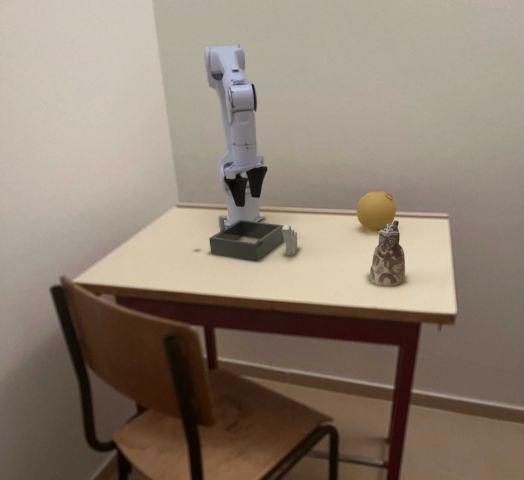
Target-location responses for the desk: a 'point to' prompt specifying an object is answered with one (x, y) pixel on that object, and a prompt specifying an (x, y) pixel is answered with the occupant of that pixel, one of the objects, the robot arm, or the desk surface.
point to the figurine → (388, 257)
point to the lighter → (289, 239)
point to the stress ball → (376, 210)
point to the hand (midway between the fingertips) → (248, 201)
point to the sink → (230, 247)
